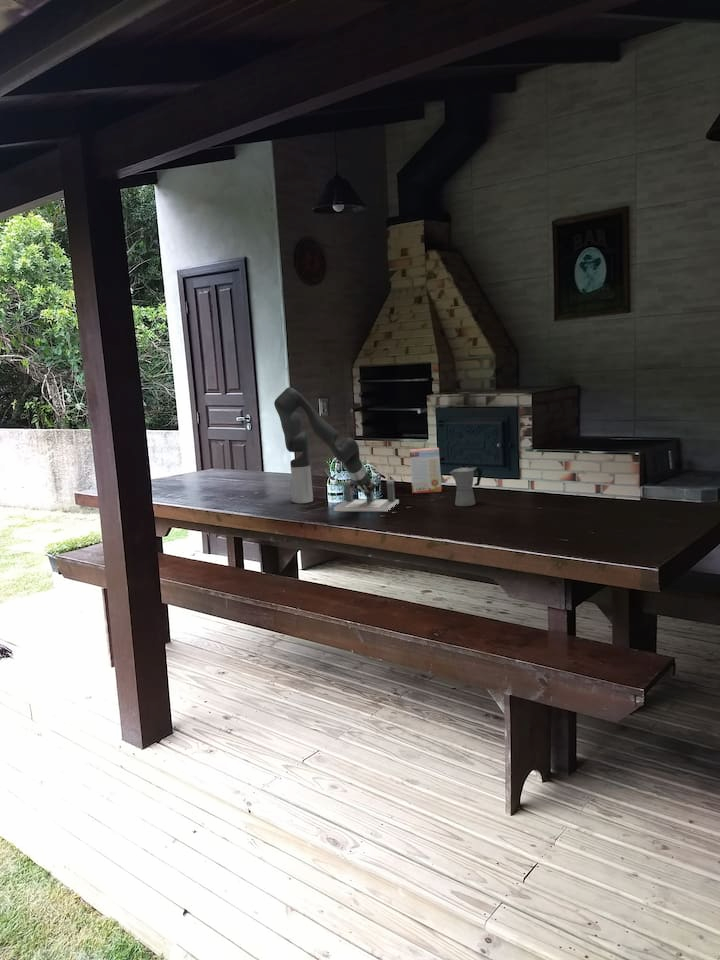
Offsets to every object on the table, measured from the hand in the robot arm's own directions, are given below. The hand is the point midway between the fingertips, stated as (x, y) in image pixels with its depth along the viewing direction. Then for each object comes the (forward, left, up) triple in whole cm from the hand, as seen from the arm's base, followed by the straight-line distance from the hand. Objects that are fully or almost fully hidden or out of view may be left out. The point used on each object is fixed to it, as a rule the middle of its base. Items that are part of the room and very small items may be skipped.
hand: (368, 495), depth 335 cm
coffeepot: (+44, +4, -5) cm, 44 cm away
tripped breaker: (0, +2, -3) cm, 4 cm away
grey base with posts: (0, -3, -5) cm, 6 cm away
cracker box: (+19, +31, -5) cm, 36 cm away
